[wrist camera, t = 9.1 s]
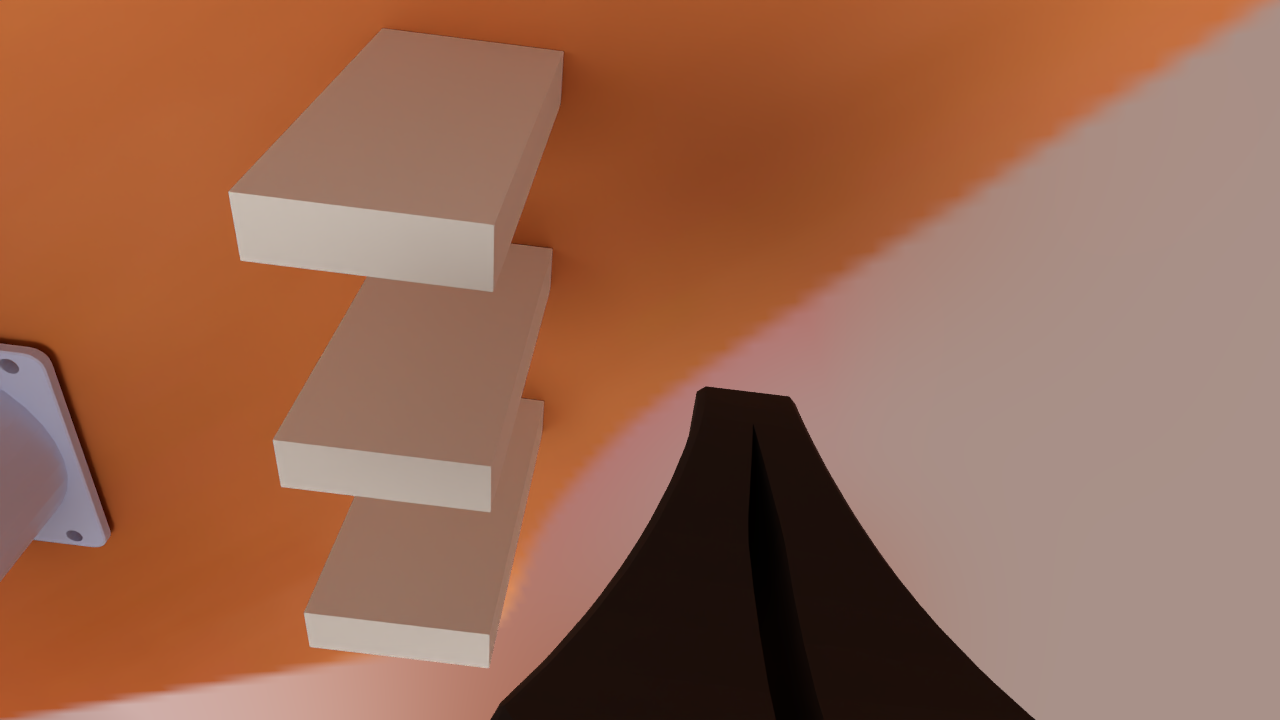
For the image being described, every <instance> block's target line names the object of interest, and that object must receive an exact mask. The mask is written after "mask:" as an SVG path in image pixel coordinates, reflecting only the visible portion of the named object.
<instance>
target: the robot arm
mask: <svg viewBox="0 0 1280 720" xmlns="http://www.w3.org/2000/svg"><path fill="white" fill-rule="evenodd" d="M11 360H12V361H13V362H12V361H11ZM14 362H15V363H16V364H15V363H14ZM110 536H111V531H110V528H109V526H108V523H107V520H106V517H105V514H104V511H103V508H102V505H101V503H100V500H99V497H98V494H97V491H96V488H95V485H94V483H93V480H92V477H91V474H90V471H89V468H88V465H87V462H86V460H85V457H84V454H83V451H82V448H81V445H80V442H79V439H78V437H77V434H76V431H75V428H74V425H73V422H72V419H71V416H70V414H69V411H68V408H67V405H66V402H65V399H64V396H63V393H62V391H61V388H60V385H59V382H58V379H57V376H56V373H55V370H54V368H53V365H52V362H51V361H50V359H49V357H48V356H47V355H46V354H45V353H44V352H42V351H40V350H38V349H35V348H31V347H26V346H17V345H9V344H1V343H0V581H1V580H2V579H3V578H4V576H5V575H6V574H7V573H8V571H9V570H10V569H11V567H12V566H13V565H14V564H15V562H16V561H17V560H18V559H19V557H20V556H21V555H22V553H23V552H24V551H25V550H26V548H27V547H28V546H29V545H30V543H31V542H32V541H33V540H39V541H47V542H55V543H64V544H72V545H80V546H88V547H101V546H103V545H104V544H105V543H106V542H107V540H108V539H109V537H110ZM491 720H1035V719H1034V718H1033V717H1031V716H1030V715H1029V714H1028V713H1027V712H1026V711H1025V710H1024V709H1023V708H1021V707H1020V706H1019V705H1018V704H1017V703H1016V702H1015V701H1014V700H1013V699H1011V698H1010V697H1009V696H1008V695H1007V694H1006V693H1005V692H1004V691H1003V690H1001V689H1000V688H999V687H998V686H997V685H996V684H995V683H994V682H993V681H992V680H991V679H990V678H989V677H988V676H987V675H985V674H984V673H983V672H982V671H981V670H980V669H979V668H978V667H977V666H976V665H975V664H974V663H973V662H972V661H971V659H969V657H967V655H966V654H965V653H964V652H963V651H962V650H961V649H960V648H959V647H958V646H957V645H956V644H955V643H954V642H953V641H952V640H951V639H950V638H949V637H948V636H947V635H946V634H945V633H944V632H943V631H942V629H941V628H939V626H938V625H937V624H936V623H935V622H934V621H933V620H932V618H931V617H930V616H929V615H928V614H927V612H926V611H925V610H924V609H923V608H922V607H921V606H920V605H919V603H918V602H917V601H916V599H915V598H914V597H913V596H912V595H911V593H910V592H909V591H908V589H907V588H906V587H905V586H904V585H903V583H902V582H901V581H900V580H899V578H898V577H897V576H896V574H895V573H894V572H893V570H892V569H891V568H890V566H889V565H888V563H887V562H886V561H885V559H884V558H883V557H882V555H881V554H880V553H879V551H878V549H877V548H876V547H875V545H874V544H873V542H872V541H871V539H870V538H869V536H868V535H867V533H866V532H865V530H864V529H863V527H862V526H861V524H860V523H859V521H858V520H857V518H856V517H855V515H854V514H853V512H852V510H851V509H850V507H849V505H848V504H847V502H846V500H845V499H844V497H843V495H842V493H841V492H840V490H839V489H838V487H837V485H836V483H835V482H834V480H833V478H832V477H831V475H830V473H829V471H828V469H827V468H826V466H825V464H824V462H823V461H822V458H821V456H820V455H819V453H818V451H817V449H816V447H815V445H814V443H813V441H812V439H811V437H810V435H809V433H808V431H807V429H806V427H805V425H804V423H803V420H802V418H801V416H800V414H799V412H798V410H797V407H796V405H795V403H794V402H793V401H792V400H791V398H790V397H788V396H780V395H772V394H763V393H755V392H746V391H739V390H730V389H722V388H714V387H704V388H702V389H701V390H699V391H697V393H696V399H695V405H694V410H693V416H692V421H691V427H690V432H689V437H688V440H687V443H686V446H685V449H684V451H683V454H682V456H681V458H680V460H679V463H678V465H677V468H676V470H675V473H674V475H673V477H672V479H671V481H670V483H669V485H668V487H667V490H666V491H665V493H664V495H663V497H662V499H661V501H660V503H659V505H658V507H657V509H656V510H655V512H654V514H653V516H652V518H651V520H650V521H649V523H648V525H647V527H646V528H645V530H644V532H643V533H642V535H641V537H640V538H639V540H638V542H637V543H636V545H635V546H634V548H633V549H632V551H631V553H630V554H629V555H628V557H627V559H626V560H625V561H624V563H623V565H622V566H621V567H620V569H619V570H618V572H617V573H616V574H615V576H614V577H613V578H612V580H611V581H610V583H609V584H608V585H607V587H606V588H605V589H604V591H603V592H602V594H601V595H600V596H599V597H598V599H597V600H596V602H595V603H594V604H593V605H592V607H591V608H590V609H589V610H588V611H587V613H586V614H585V615H584V616H583V617H582V619H581V620H580V621H579V622H578V623H577V624H576V625H575V626H574V628H573V629H572V630H571V631H570V632H569V633H568V635H567V636H566V637H565V638H564V639H563V640H562V641H561V643H560V644H559V645H558V646H557V647H556V648H555V649H554V650H553V652H552V653H551V654H550V655H549V656H548V657H547V658H546V659H545V660H544V661H543V662H542V663H541V664H540V665H539V666H538V667H537V668H536V669H535V670H534V671H533V672H532V673H531V674H530V675H529V676H528V677H527V678H526V679H525V680H524V681H523V682H522V683H520V685H518V686H517V687H516V688H515V689H514V690H513V691H512V692H511V693H510V694H509V695H508V696H507V697H506V698H505V699H504V700H503V701H502V702H501V703H500V704H499V706H498V708H497V710H496V711H495V713H494V715H493V716H492V718H491Z"/></svg>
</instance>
